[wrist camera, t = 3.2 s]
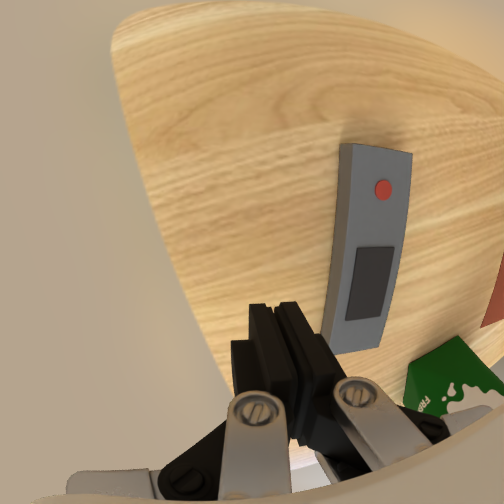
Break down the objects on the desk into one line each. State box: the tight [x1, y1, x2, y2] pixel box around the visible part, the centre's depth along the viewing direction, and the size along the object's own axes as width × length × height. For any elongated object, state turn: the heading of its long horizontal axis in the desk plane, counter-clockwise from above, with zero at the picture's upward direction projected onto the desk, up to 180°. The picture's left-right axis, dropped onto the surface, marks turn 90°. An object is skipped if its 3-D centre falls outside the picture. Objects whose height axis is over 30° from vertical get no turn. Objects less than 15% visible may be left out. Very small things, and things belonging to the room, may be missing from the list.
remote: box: [321, 143, 412, 355], centre depth 17 cm, size 14×4×2 cm, turn 179°
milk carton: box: [403, 336, 504, 418], centre depth 15 cm, size 9×9×20 cm
